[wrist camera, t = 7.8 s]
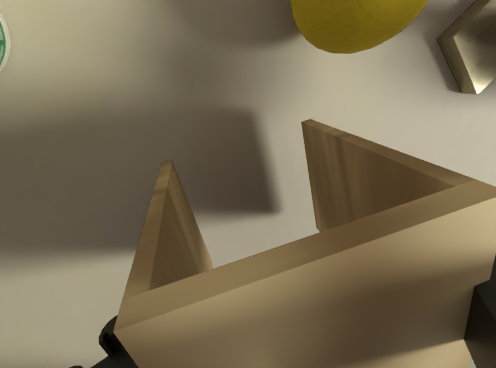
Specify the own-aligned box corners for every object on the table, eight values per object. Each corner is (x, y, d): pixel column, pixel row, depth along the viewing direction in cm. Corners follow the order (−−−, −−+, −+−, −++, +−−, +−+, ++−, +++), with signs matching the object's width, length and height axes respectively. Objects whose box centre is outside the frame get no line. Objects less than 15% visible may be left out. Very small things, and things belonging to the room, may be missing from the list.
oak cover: (203, 266, 18) (222, 485, 8) (161, 162, 15) (113, 332, 5) (324, 225, 19) (465, 381, 9) (310, 119, 16) (510, 192, 6)
